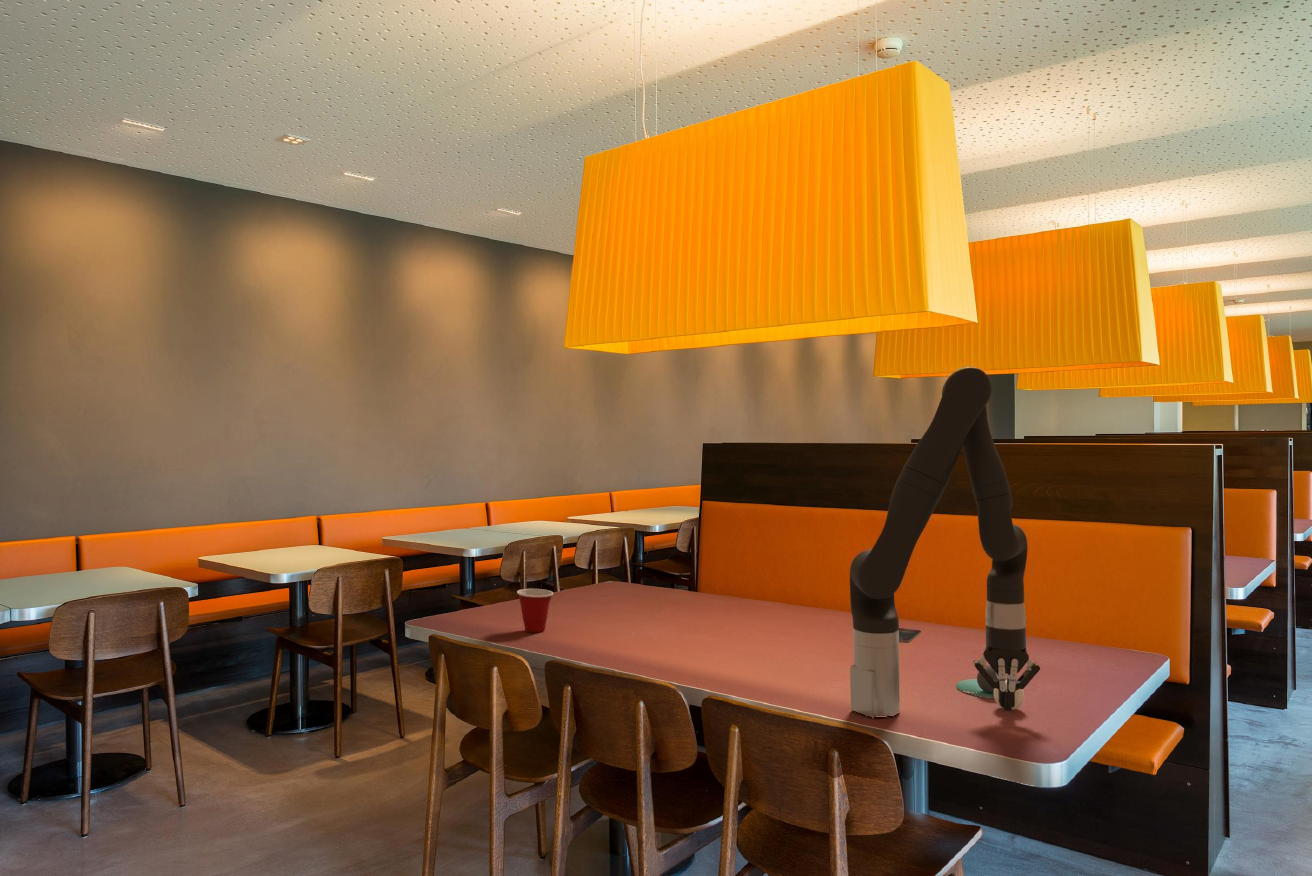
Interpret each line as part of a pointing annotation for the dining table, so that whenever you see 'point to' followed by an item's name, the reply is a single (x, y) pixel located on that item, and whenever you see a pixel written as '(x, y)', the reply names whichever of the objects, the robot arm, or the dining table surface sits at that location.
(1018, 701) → the cue ball
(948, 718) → the dining table surface
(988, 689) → the object ball
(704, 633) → the dining table surface
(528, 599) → the plastic cup
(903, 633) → the smartphone
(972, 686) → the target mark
